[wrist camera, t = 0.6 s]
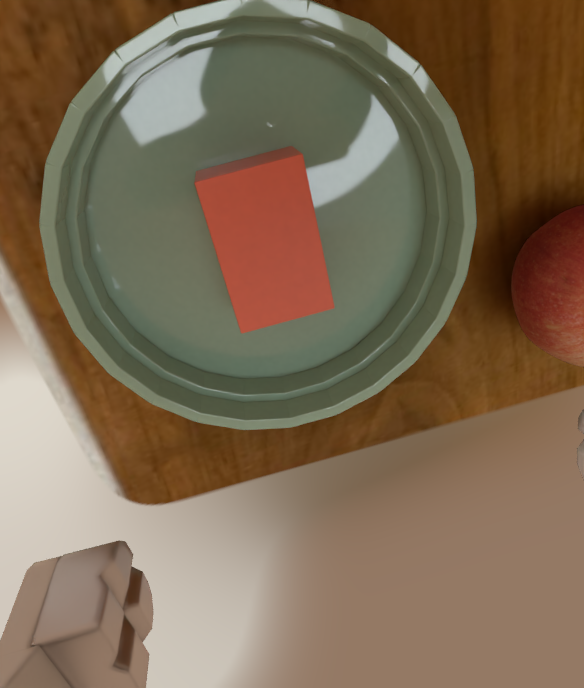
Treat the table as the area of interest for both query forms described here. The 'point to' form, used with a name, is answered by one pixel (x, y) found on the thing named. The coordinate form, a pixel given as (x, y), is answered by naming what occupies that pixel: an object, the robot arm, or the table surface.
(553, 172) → the table surface
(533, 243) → the apple
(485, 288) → the table surface
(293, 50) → the bowl
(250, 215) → the red rectangular block
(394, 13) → the table surface
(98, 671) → the robot arm
